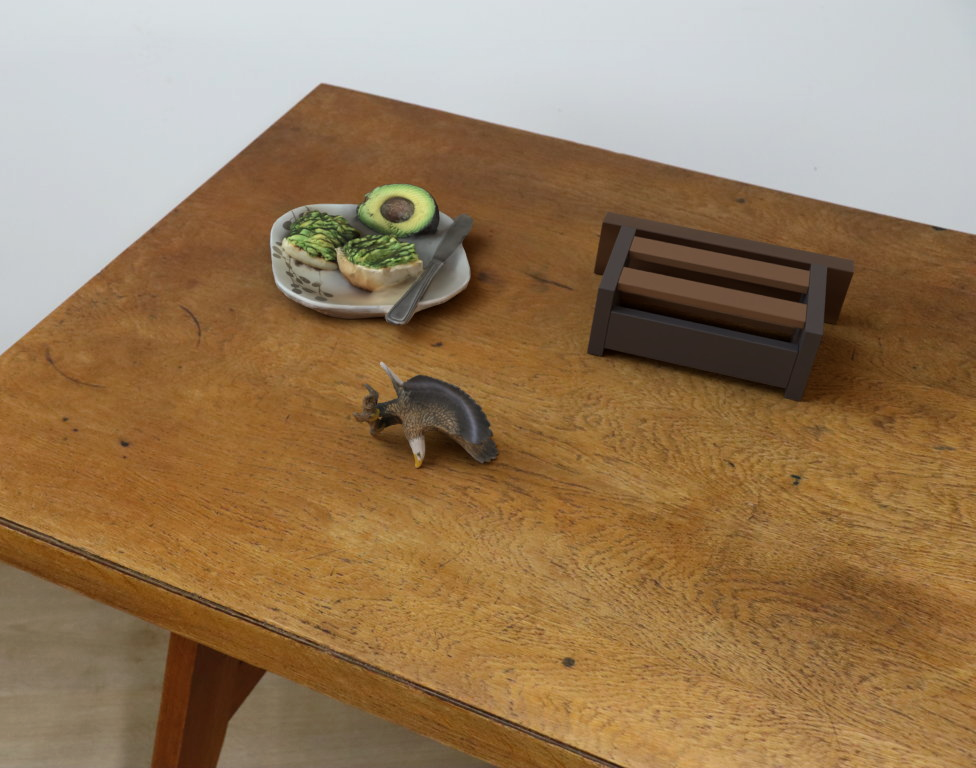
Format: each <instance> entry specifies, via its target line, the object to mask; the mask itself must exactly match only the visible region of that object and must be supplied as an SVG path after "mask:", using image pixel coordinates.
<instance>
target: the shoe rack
mask: <svg viewBox="0 0 976 768" xmlns="http://www.w3.org/2000/svg"><path fill="white" fill-rule="evenodd" d="M635 234H636V228H631V227H626V226H621V229H620V232H619V234H618V237H617V240H616V242H615V245H614V248H613V250H612V253H611V256H610V258H609V261H608V264H607V266H606V269H605V272H604V274H603V275H602V278H601V280H600V283H599V284H598V287H597V293H596V301H595V304H594V305H595V306H594V309H593V310H594V311H593V316H592V322H591V329H590V333H589V338H588V344H587V349H586V353H587V354H589V355H594V356H598V357H603V355H604V352H605V349H606V350H610V351H611V350H612V351H616V352H620V353H625V354H629V355H634V356H638V357H642V358H647V359H651V360H656V361H661V362H664V363H669V364H674V365H678V366H683V367H687V368H691V369H696V370H700V371H705V372H709V373H713V374H719V375H723V376H727V377H731V378H736V379H741V380H745V381H750V382H754V383H759V384H763V385H768V386H770V387H771V386H772V387H776V388H781V389H784V396H783V398H784V399H788V400H792V401H796V402H801V401H802V398H803V396H804V392H805V390H806V387H807V385H808V381H809V378H810V375H811V372H812V368H813V366H814V363H815V359H816V357H817V354H818V351H819V348H820V345H821V342H822V339H823V336H824V324H825V322H824V310H825V294H826V279H827V266H824V265H819V264H813V263H811V266H810V269H809V271H807V270H801V269H796V268H791V267H786V266H781V265H776V264H771V263H766V262H761V261H756V260H751V259H746V258H741V257H736V256H731V255H726V254H721V253H716V252H711V251H706V250H701V249H696V248H691V247H686V246H681V245H676V244H671V243H666V242H661V241H656V240H651V239H646V238H641V237H636V236H635ZM631 258H632V259H637V260H642V261H647V262H652V263H657V264H662V265H667V266H672V267H677V268H681V269H686V270H691V271H696V272H701V273H706V274H711V275H716V276H721V277H726V278H730V279H735V280H740V281H745V282H750V283H755V284H760V285H765V286H770V287H775V288H780V289H784V290H789V291H794V292H799V293H802V295H801V298H800V301H799V303H796V302H791V301H787V300H782V299H777V298H772V297H767V296H762V295H757V294H753V293H748V292H743V291H738V290H733V289H728V288H723V287H719V286H714V285H709V284H704V283H699V282H694V281H689V280H685V279H680V278H675V277H670V276H665V275H660V274H655V273H651V272H646V271H641V270H636V269H631V268H629V264H630V259H631ZM622 300H625V301H630V302H634V303H639V304H645V305H649V306H653V307H658V308H662V309H667V310H673V311H676V312H677V311H678V312H682V313H686V314H691V315H695V316H696V315H697V316H699V317H700V316H701V317H705V318H709V319H715V320H719V321H723V322H729V323H734V324H738V325H742V326H746V327H747V326H748V327H752V328H757V329H761V330H766V331H771V332H775V333H781V334H784V335H789V337H790V338H789V342H787V341H782V340H778V339H773V338H768V337H764V336H760V335H755V334H751V333H750V334H749V333H745V332H742V331H741V332H740V331H736V330H732V329H727V328H723V327H717V326H713V325H708V324H703V323H700V322H699V323H698V322H694V321H689V320H685V319H680V318H676V317H671V316H666V315H662V314H656V313H652V312H648V311H642V310H638V309H634V308H629V307H625V306H624V307H623V306H620V305H621V302H622Z"/></svg>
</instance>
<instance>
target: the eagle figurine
mask: <svg viewBox="0 0 976 768" xmlns="http://www.w3.org/2000/svg"><path fill="white" fill-rule="evenodd" d="M379 365H380V367H381V368H382V370H383V371H384V372H385V374H386V375H387V376H388V377H389V378H390V380H391V383H392V387H393V389H394V391H395V393H396V396H397V398H393V399H390V400H388V401H383V402H379V398H380V394H379V391H377V390H376V389H374V387H372V386H371V385H370V384H369V383H366V382H363V383H362V384H363V387H365V389H366V390H367V391H368V394H366V395H365V396H364V397H363V398H362V412H360V413H359V412H357V411H353V412H352V416H353V418H354V420H355V421H356V422H357V423H365V422H366V423H367V424H368V425H369V435H370V436H377V435H378V434H380V433H381V432H383V431H384V430H385V429H387V428H389V427H392V426H396V425H402V430H403V433H404V436H405V438H406V440H407V441H408V444H409V446H410V448H411V451H412V454H413V456H414V462H415V463H414V469H415V468H416V469H419V468H420V467H421V466H422V464H423V460H424V458H425V455H426V441H425V436H426V435H425V433H427V432H438V433H441V434H443V435H444V436H446V437H448V438H449V439H450V440H452V441H454V442H455V443H456V444H458V445H460V446H461V447H462V448H463V449H464V450H465V451H466V452H467V453H468V454H469V455H470V457H472V458H473V459H474V460H475V461H476V462H478V463H480V464H484V462H486V463H490V462H491V461H492V460H495V459H497V458H498V456H497V455H498V454H499V453H500V452H499V449H498V448H496V446H497V443H496V442H495V441H494V440H493V439H491V438H493V437H494V435H495V434H494V432H493V430H492V429H491V428H490V427H491V426H492V423H491V422H490V420H489V419H488V415H487V414H486V413H485V412H484V411H483V407H482V406H481V405H480V404H478V403H477V401H476V400H475V399H474V398H473V397H471V395H470V394H469V393H467V392H466V390H464V389H461V387H459V386H457V385H455V384H454V383H449V382H448V381H444V380H443V379H440V378H435V377H433V376H428V375H425V374H416V375H414V376H412V377H410V378H408V379H406V381H403V380H402V379H401V378H400V377H399V376H398V375H397V374H396V373H395V372H394V371H393V370H392V369H391V368H390V367H389V366H388V365H387V364H386V363H385V362H383V361H380V363H379Z"/></svg>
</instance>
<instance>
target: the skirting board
mask: <svg viewBox="0 0 976 768" xmlns="http://www.w3.org/2000/svg"><path fill="white" fill-rule="evenodd" d="M621 226H626V227H631V228H636V234H635V236H636V237H641V238H646V239H651V240H656V241H661V242H666V243H671V244H676V245H681V246H686V247H691V248H696V249H701V250H706V251H711V252H716V253H721V254H726V255H731V256H736V257H741V258H746V259H751V260H756V261H761V262H766V263H771V264H776V265H781V266H786V267H791V268H796V269H801V270H807V271H809V269H810V266H811V263H813V264H819V265H824V266H827V279H826V294H825V310H824V323H828V324H833V325H836V324H837V323H838V321H839V317H840V314H841V311H842V309H843V306H844V303H845V299H846V297H847V293H848V291H849V289H850V285H851V282H852V280H853V277H854V274H855V260H853V259H850V258H844V257H839V256H833V255H829V254H823V253H820V252H819V253H818V252H814V251H810V250H809V251H808V250H804V249H798V248H793V247H788V246H783V245H778V244H773V243H768V242H764V241H758V240H753V239H748V238H743V237H739V236H738V237H737V236H733V235H728V234H723V233H717V232H714V231H713V232H711V231H709V230H708V231H707V230H702V229H697V228H693V227H688V226H683V225H677V224H672V223H667V222H662V221H657V220H652V219H648V218H642V217H637V216H632V215H627V214H622V213H617V212H612V211H606V212H605V215H604V218H603V220H602V222H601V228H600V235H599V240H598V246H597V251H596V256H595V263H594V268H593V273H594V274H598V275H602V276H603V274H604V272H605V269H606V266H607V264H608V261H609V258H610V256H611V253H612V250H613V248H614V245H615V242H616V240H617V237H618V234H619V232H620V229H621ZM629 268H631V269H636V270H641V271H646V272H651V273H655V274H660V275H665V276H670V277H675V278H680V279H685V280H689V281H694V282H699V283H704V284H709V285H714V286H719V287H723V288H728V289H733V290H738V291H743V292H748V293H753V294H757V295H762V296H767V297H772V298H777V299H782V300H787V301H791V302H796V303H799V301H800V298H801V295H802V293H799V292H794V291H789V290H784V289H780V288H775V287H770V286H765V285H760V284H755V283H750V282H745V281H740V280H735V279H730V278H726V277H721V276H716V275H711V274H706V273H701V272H696V271H691V270H686V269H681V268H677V267H672V266H667V265H662V264H657V263H652V262H647V261H642V260H637V259H632V258H631V259H630V264H629Z"/></svg>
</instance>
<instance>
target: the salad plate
mask: <svg viewBox="0 0 976 768" xmlns="http://www.w3.org/2000/svg"><path fill="white" fill-rule="evenodd" d="M363 197H364V200H363V201H361V202H359V203H358V204H354V203H315V204H306V205H302V206H299V207H295V208H293V209H291V210H288V211H287V212H286V213H284V214H282V215H281V216H280V217H277V219H276V220H275V221H274V223H273V224H272V227H271V230H270V234H269V240H268V241H269V245H268V247H269V250H270V258H271V259H270V260H271V268H272V274H273V278H274V282H275V285H276V287H277V288H278V290H279V291H280V292H282V293H283V294H284V295H285V296H286V297H287V298H288V299H290V300H291V301H294V302H295V303H297V304H299V305H302V306H304V307H306V308H308V309H311V310H314V311H315V312H317V313H320V314H322V315H325V316H327V317H333V318H337V319H348V320H349V319H350V320H353V319H354V320H355V319H369V318H385V321H386V322H387V323H389V324H390V325H393V326H397V327H398V326H404V325H407V324H408V323H409V322H410V321H411V319H412V318H413V317H414V315H415V314H416V313H418V312H421V311H423V310H426V309H429V308H432V307H434V306H438V305H441V304H444V303H446V302H448V301H450V300H451V299H454V297H456V295H459V294H460V293H462V292H463V291H465V290H466V289H467V287H468V285H469V282H470V280H471V267H470V264H469V259H468V257H467V253H466V251H465V249H464V246H463V241H464V240H465V239H466V238H467V237H468V235H469V234H470V232H471V230H472V227H473V224H474V219H473V217H471V216H470V215H468V214H467V213H460V214H459V215H457V216H455V217H452V216H449V215H448V214H445V213H444V212H443V211H440V209H439V205H438V203H437V201H436V199H435V197H434V195H432V194H431V193H430V192H429V191H428V190H426V189H425V188H423V187H422V186H418V185H415V184H410V183H387V184H382V185H380V186H376V187H374V188H373V189H372V190H371V191H370V192H367V193H364V195H363Z"/></svg>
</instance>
